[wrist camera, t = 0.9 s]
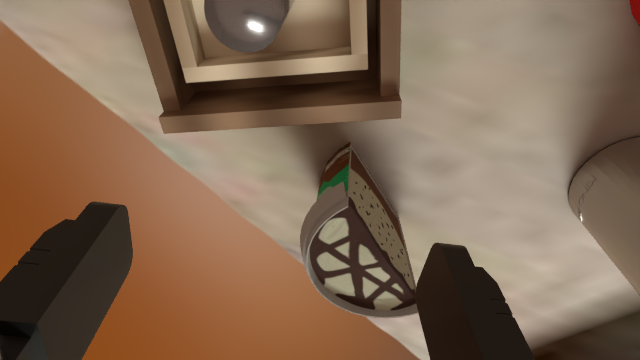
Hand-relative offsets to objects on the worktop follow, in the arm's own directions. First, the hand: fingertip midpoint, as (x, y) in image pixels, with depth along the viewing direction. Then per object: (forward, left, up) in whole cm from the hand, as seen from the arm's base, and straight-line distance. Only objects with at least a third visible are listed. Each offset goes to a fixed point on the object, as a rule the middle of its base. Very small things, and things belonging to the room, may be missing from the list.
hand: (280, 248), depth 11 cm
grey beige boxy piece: (+3, -4, -21) cm, 21 cm away
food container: (-1, +14, -22) cm, 26 cm away
